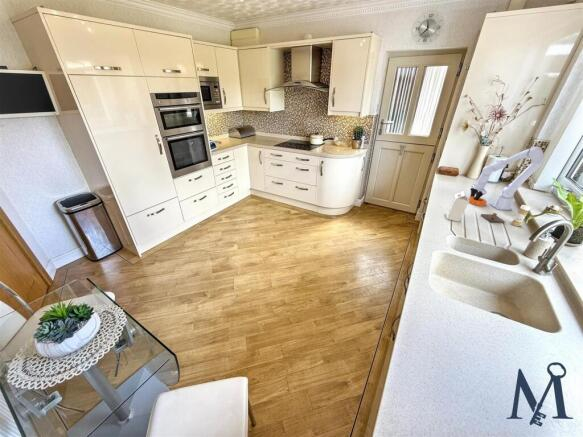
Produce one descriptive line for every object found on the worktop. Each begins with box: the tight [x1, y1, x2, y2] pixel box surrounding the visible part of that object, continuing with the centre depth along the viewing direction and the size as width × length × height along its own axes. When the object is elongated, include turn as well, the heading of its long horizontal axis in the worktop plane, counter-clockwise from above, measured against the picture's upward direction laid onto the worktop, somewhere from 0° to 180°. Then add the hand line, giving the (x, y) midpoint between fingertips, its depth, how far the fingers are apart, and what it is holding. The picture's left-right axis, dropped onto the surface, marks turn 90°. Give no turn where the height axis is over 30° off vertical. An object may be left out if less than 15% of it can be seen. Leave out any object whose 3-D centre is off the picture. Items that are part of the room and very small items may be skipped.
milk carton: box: [445, 189, 470, 223], centre depth 149 cm, size 7×7×19 cm
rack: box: [480, 212, 506, 224], centre depth 154 cm, size 9×9×4 cm
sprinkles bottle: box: [510, 204, 532, 227], centre depth 147 cm, size 5×5×14 cm
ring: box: [468, 196, 488, 207], centre depth 176 cm, size 11×11×3 cm
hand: (473, 198), depth 180 cm, fingers open, 4 cm apart
